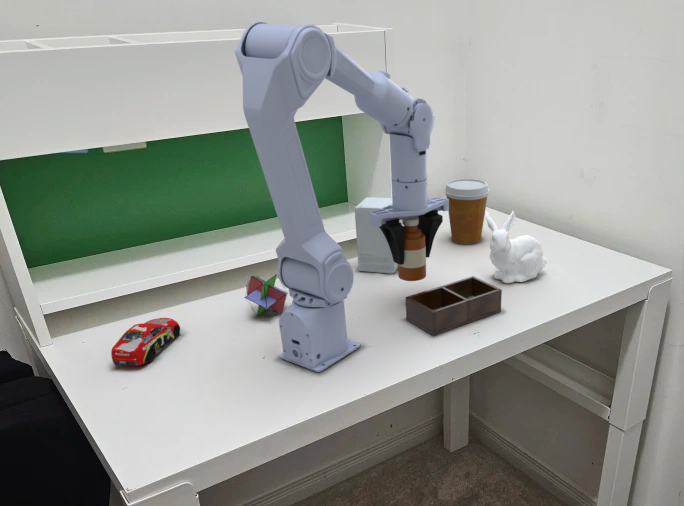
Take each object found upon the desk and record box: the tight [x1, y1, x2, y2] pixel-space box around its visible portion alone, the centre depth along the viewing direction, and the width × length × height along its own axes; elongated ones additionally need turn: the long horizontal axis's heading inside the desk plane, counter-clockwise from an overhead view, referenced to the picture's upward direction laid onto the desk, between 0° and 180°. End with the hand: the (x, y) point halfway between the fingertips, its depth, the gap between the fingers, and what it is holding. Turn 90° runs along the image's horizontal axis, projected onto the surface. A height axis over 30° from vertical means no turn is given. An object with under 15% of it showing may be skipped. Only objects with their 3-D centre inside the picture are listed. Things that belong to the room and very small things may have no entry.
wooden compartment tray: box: [405, 275, 503, 337], centre depth 110 cm, size 14×8×4 cm, turn 128°
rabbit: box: [484, 210, 548, 284], centre depth 123 cm, size 12×9×12 cm
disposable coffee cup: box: [443, 178, 490, 245], centre depth 140 cm, size 10×10×12 cm
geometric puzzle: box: [243, 273, 289, 318], centre depth 110 cm, size 7×7×8 cm
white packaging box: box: [354, 196, 403, 275], centre depth 126 cm, size 7×7×13 cm
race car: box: [110, 317, 181, 367], centre depth 100 cm, size 13×5×4 cm, turn 170°
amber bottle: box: [397, 216, 427, 282], centre depth 111 cm, size 5×5×10 cm
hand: (411, 259), depth 112 cm, fingers closed on amber bottle, 5 cm apart
